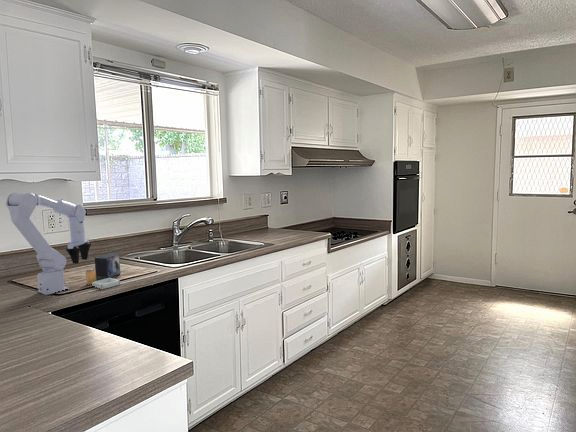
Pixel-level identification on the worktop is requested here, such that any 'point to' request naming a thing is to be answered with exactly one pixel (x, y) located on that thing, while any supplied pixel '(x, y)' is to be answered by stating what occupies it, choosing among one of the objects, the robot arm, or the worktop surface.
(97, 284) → the tray
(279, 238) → the worktop surface
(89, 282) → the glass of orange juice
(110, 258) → the small box
